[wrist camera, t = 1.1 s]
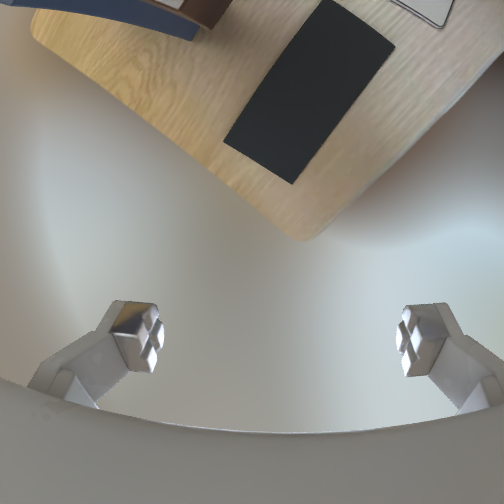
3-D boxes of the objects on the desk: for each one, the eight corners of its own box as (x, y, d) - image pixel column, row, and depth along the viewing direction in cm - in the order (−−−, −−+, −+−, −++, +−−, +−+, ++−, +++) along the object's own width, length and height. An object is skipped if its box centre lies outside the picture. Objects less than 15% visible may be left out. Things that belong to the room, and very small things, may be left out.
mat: (325, -3, 24) (325, -5, 24) (394, 46, 26) (395, 46, 26) (223, 140, 34) (222, 141, 34) (291, 183, 36) (291, 184, 36)
